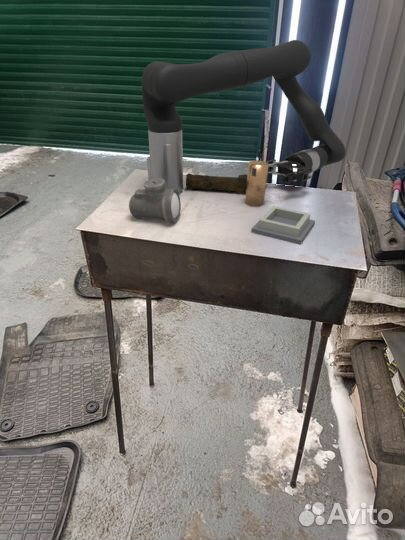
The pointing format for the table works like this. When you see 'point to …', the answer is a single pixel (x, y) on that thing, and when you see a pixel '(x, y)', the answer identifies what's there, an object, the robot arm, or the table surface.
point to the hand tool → (217, 183)
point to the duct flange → (284, 224)
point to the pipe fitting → (156, 201)
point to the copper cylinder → (256, 183)
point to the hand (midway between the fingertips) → (271, 175)
